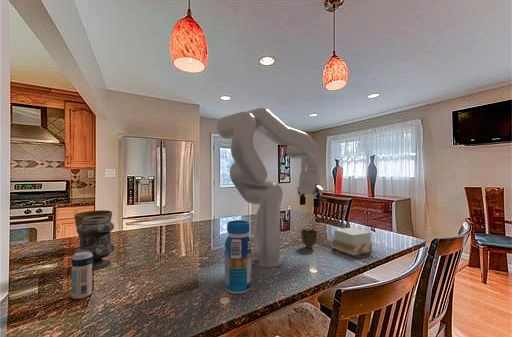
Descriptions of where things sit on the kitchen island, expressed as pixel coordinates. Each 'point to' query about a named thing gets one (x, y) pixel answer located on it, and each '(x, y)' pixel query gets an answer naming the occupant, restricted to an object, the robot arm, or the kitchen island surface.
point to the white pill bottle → (81, 275)
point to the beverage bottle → (238, 257)
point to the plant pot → (82, 215)
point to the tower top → (352, 236)
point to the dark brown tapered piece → (309, 238)
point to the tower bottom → (351, 247)
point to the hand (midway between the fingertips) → (309, 206)
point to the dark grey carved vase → (96, 239)
